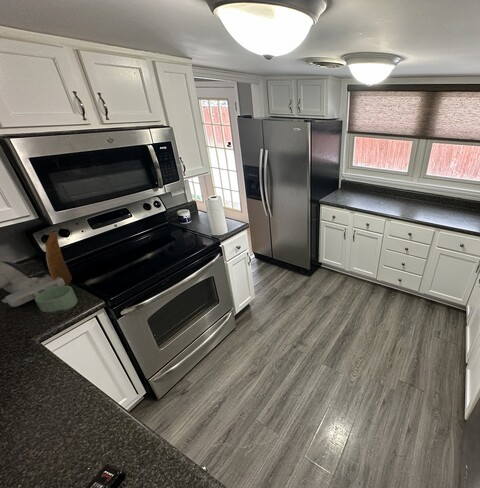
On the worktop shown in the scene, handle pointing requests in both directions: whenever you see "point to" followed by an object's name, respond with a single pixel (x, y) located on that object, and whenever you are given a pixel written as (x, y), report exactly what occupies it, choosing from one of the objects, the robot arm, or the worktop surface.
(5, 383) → the worktop surface
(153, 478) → the worktop surface
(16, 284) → the robot arm
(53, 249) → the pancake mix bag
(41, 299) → the bowl
